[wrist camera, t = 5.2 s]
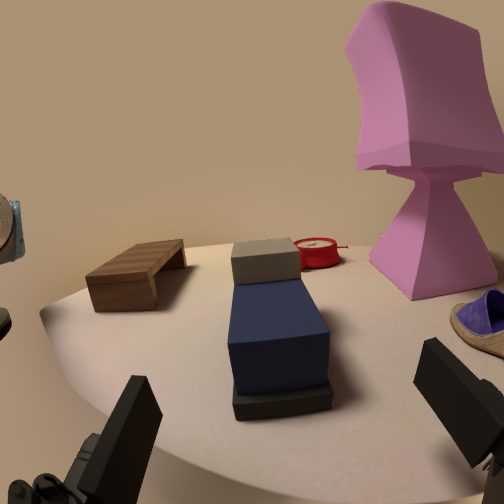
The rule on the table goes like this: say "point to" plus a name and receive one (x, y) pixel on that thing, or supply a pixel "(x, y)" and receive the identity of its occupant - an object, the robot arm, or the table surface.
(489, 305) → the sandal
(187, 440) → the table surface
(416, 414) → the table surface
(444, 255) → the pink table lamp
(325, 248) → the alarm clock
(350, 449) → the table surface
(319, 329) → the stacked block toy
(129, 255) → the low wooden table
